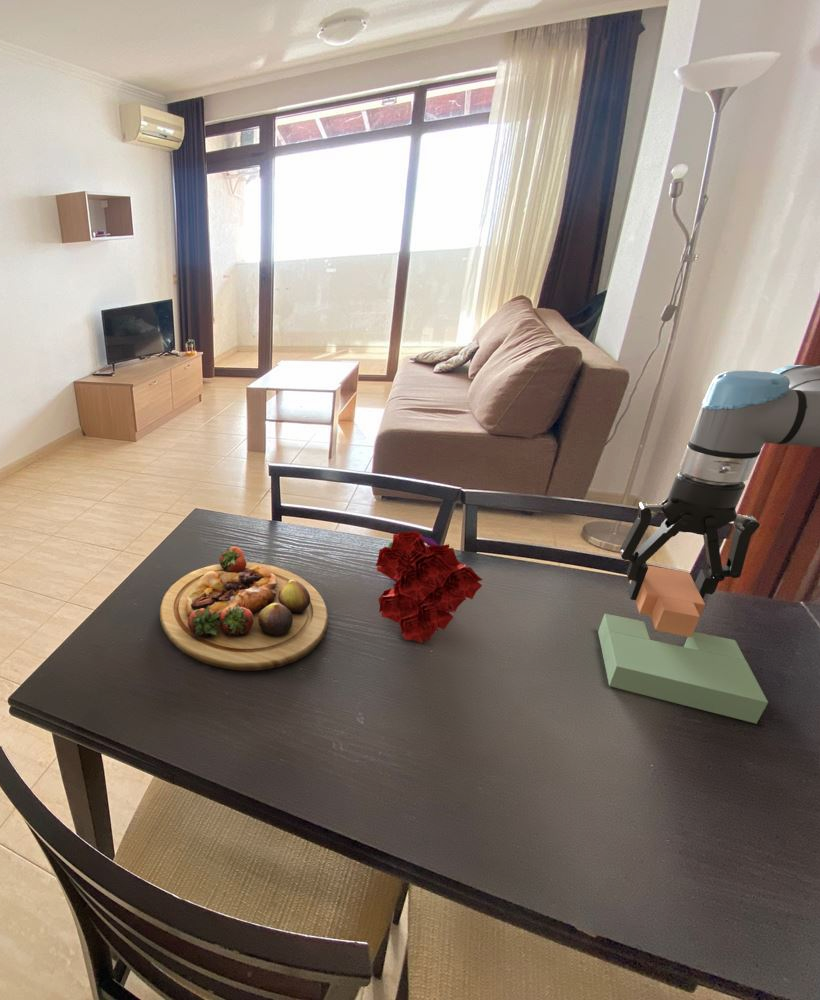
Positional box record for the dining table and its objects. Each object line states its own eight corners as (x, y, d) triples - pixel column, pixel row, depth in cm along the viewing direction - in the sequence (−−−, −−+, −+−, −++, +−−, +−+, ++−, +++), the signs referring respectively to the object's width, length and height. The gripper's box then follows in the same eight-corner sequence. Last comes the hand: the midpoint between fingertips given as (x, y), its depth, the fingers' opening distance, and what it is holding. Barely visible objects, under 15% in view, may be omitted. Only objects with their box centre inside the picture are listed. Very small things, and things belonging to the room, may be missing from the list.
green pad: (725, 660, 85) (735, 640, 83) (756, 723, 74) (768, 702, 72) (597, 632, 92) (604, 613, 91) (609, 686, 82) (616, 666, 80)
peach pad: (681, 591, 93) (689, 572, 91) (703, 640, 82) (713, 619, 80) (629, 582, 96) (636, 563, 95) (643, 627, 86) (651, 607, 84)
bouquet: (434, 584, 119) (477, 651, 90) (355, 579, 123) (372, 641, 94) (443, 498, 114) (490, 539, 86) (361, 495, 118) (380, 534, 90)
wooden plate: (180, 564, 123) (178, 533, 119) (326, 576, 114) (328, 542, 110) (140, 661, 95) (135, 623, 92) (328, 686, 86) (331, 645, 83)
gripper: (630, 476, 83) (589, 598, 93) (818, 496, 73) (751, 630, 83) (622, 459, 89) (585, 576, 98) (796, 476, 79) (735, 604, 89)
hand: (661, 601), depth 91 cm, fingers closed on peach pad, 7 cm apart
